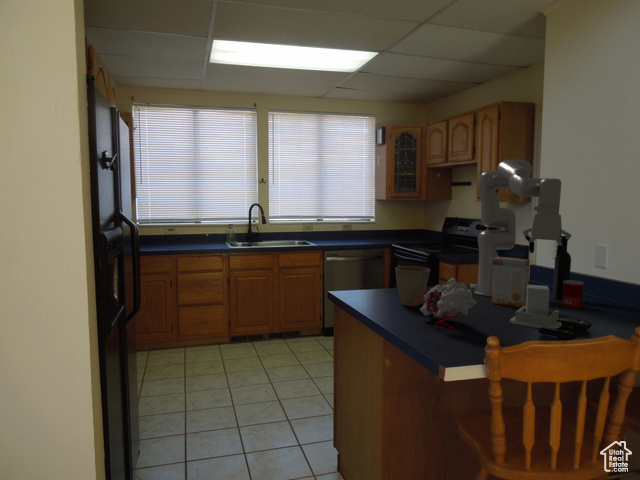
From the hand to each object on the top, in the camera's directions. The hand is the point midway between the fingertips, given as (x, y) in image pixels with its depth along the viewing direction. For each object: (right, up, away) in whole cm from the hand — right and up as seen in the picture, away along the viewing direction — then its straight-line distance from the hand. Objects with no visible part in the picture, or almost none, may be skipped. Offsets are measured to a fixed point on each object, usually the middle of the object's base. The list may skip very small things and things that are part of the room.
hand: (544, 253), depth 181 cm
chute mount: (-6, -26, -6) cm, 27 cm away
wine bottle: (+26, -23, +38) cm, 51 cm away
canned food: (+23, -24, +23) cm, 41 cm away
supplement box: (-6, -25, -6) cm, 26 cm away
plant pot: (-48, -23, +21) cm, 58 cm away
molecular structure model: (-43, -26, -10) cm, 51 cm away
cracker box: (-5, -24, +23) cm, 33 cm away
